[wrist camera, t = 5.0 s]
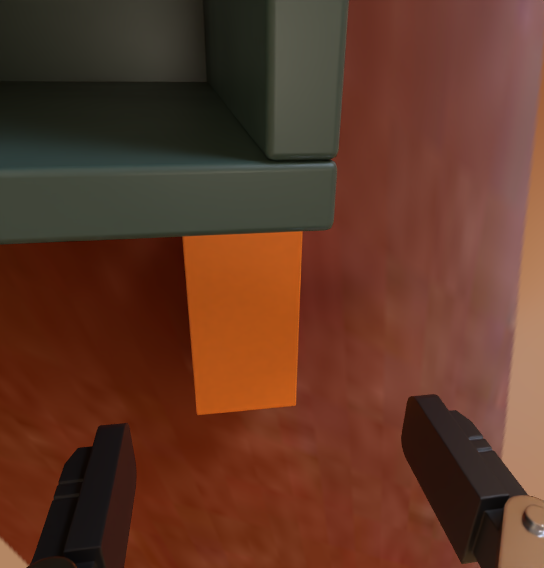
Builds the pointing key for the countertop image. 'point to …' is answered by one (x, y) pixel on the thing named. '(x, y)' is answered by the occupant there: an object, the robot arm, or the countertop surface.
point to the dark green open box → (168, 117)
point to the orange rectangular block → (243, 319)
